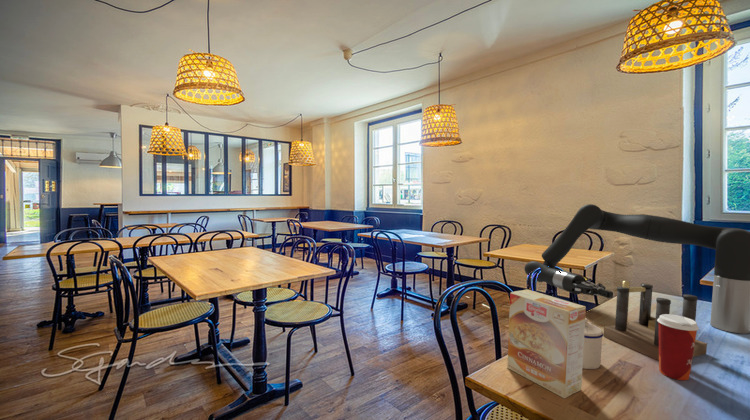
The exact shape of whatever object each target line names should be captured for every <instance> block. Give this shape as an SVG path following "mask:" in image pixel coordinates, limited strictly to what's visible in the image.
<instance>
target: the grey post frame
mask: <svg viewBox="0 0 750 420" xmlns="http://www.w3.org/2000/svg"><path fill="white" fill-rule="evenodd" d="M621 285H622V286H621V287H626V288H629V293H640V298H639V312H638V322H639V324H642V325H646V326H648V323H649V321H650V317H651V315H652V303H653V302H652V301H653V299H652V297H653V288H654V285H652V284H649V283H640V286H631V281H629V280H622V284H621ZM629 301H630V294H629V295H628V305H630V304H629V303H630V302H629ZM628 318H629V311H628V312H627V321H628Z"/></svg>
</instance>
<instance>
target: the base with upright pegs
mask: <svg viewBox="0 0 750 420" xmlns="http://www.w3.org/2000/svg"><path fill="white" fill-rule="evenodd" d="M628 295H629V296H630V292H629V288H626V287H622V286H616V305H615V307H616V308H615V322H614V324H615V325H613V324H612V325H607V326H603V337H604V338H607V339H609V340H611V341H613V342H616V343H618V344H620V345H623V346H625V347H626V348H630V349H631V350H634V351H636V352H639V353H641V354H643V355H645V356H648V357H650V358H652V359H655V360H657V361H659V322H658V321H657V319H658V318H659V316H660V315H662V314H671V312H670V311H671V305H672V300H671V299H669V298H665V297H656V306H655V307H656V308H655V317H654V316H651V317H650V321H649V323H648V326H646V325H642V324H639V321H634V322H628V320H627V312H628V313H629V304H628ZM682 295H683V296H682V298H683V300H682V315H681V316H683V317H686V318H689V319H692V320H694V321H695V322H696V320H697V319H696V318H697V317H696V316H697V305H698V304H697V303H698V299H699V297H698V296H696V295H693V294H688V293H687V294H685V293H684V294H682ZM707 346H708V343H706V342H703V341H700V340H698V339H695V345H694V352H693V358H694V357H699V356H702V355H707V348H708V347H707Z"/></svg>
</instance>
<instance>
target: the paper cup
mask: <svg viewBox="0 0 750 420" xmlns="http://www.w3.org/2000/svg"><path fill="white" fill-rule="evenodd" d="M657 321H658V322H659V360H658V368H659V369H658V371H659V372H660V374H662V375H664V376H666V377H668V378H670V379H672V380H678V381H683V382H684V381H689V379H690V375H691V370H692V363H693V358H694V357H693V352H694V345H695V339H696V338H697V332H698V331H699V329H700V328H699V326H698V323H697V322H696V320H695V321H694V320H692V319H689V318H686V317H683V316H682V315H679V314H678V315H677V314H671V313H670V314H662V315H660V316H659V318H658V319H657ZM696 340H697V339H696Z"/></svg>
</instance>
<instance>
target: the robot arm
mask: <svg viewBox="0 0 750 420" xmlns="http://www.w3.org/2000/svg"><path fill="white" fill-rule="evenodd" d="M588 230H597V231H607V232H616V233H620V234H624V235H627V236H632V237H635V238H640V239H643V240H648V241H653V242H658V243H665V244H675V245H676V244H678V245H692V246H699V247H702V248H707V249H713V250H715V255H714V258H715V259H714V267H713V268H714V269H713V281H712V282H713V283H712V297H711V311H710V323H709V324H710V326H712V327H714V328H716V329H718V330H720V331H721V330H722V331H726V332H730V333H735V334H742V335H743V334H746V335H747V334H750V231H748V230H746V229H743V228H736V227H721V226H712V225H711V226H710V225H702V224H696V223H692V222H688V221H686V220H680V219H675V218H670V217H665V216H659V215H658V216H657V215H652V214H621V213H616V212H610V211H606V210H602V209H601V208H600V207H599V206H598V205H596V204H592V203H591V204H590V203H589V204H588V203H587V204H585V205H583V206H580V207H579V208H578V210H577V212H576V214H575V215H574V217H573V218H572V219H571V220H570V222H569V224H568V225H567V226H566V227H565V229H564V230H563V231H562V232H561V233H560V234H559V236H558V237H557V238H555V240H554V241H553V242H552V243H551V244H550V245H549V246H548V247H547V248H546V249H545V250H544V251H543V252H542V253H541V258H542V259H543V263H541V262H539V261H535V260H532V261H528V262H527V263H526V264H525V266H524V272H525V274H526V275H527V276H528V275H529V273H530V272H531V271H533V270H534V269H536V268H538V267H540V268H541V273H540V274H539V275H538V278H537V281H536V282H538V283H546V284H548V285H550V286H554V287H555V288H558V289H559V290H563V291H565V292H568V293H571V294H574V295H581V294H582V295H587V296H593V297H594V296H598V297H599V296H600V297H604V298H606V299H612V298H613V296H614V292H613V291H610V290H607V289H606V286H605V285H603V284H602V283H600V282H598V283H594V282H592V281H589V280H586V278H585V277H584V276H583V275H581V274H578V273H574V272H571V271H568V270H562V269H558V268H556V267H557V265H558V263H559V262H561V261H562V260H563V259H564V258H565V257H566V256H567V254H568V253H569V252H570V251H571V249H572V248H573V246H574V245H575V243H576V242H577V241H578V239H580V237H581V236H582V235H583V234H584V233H585V232H587V231H588ZM548 266H549V267H548ZM561 270H562V271H561ZM559 271H560V272H561V273H560V272H559Z"/></svg>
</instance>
